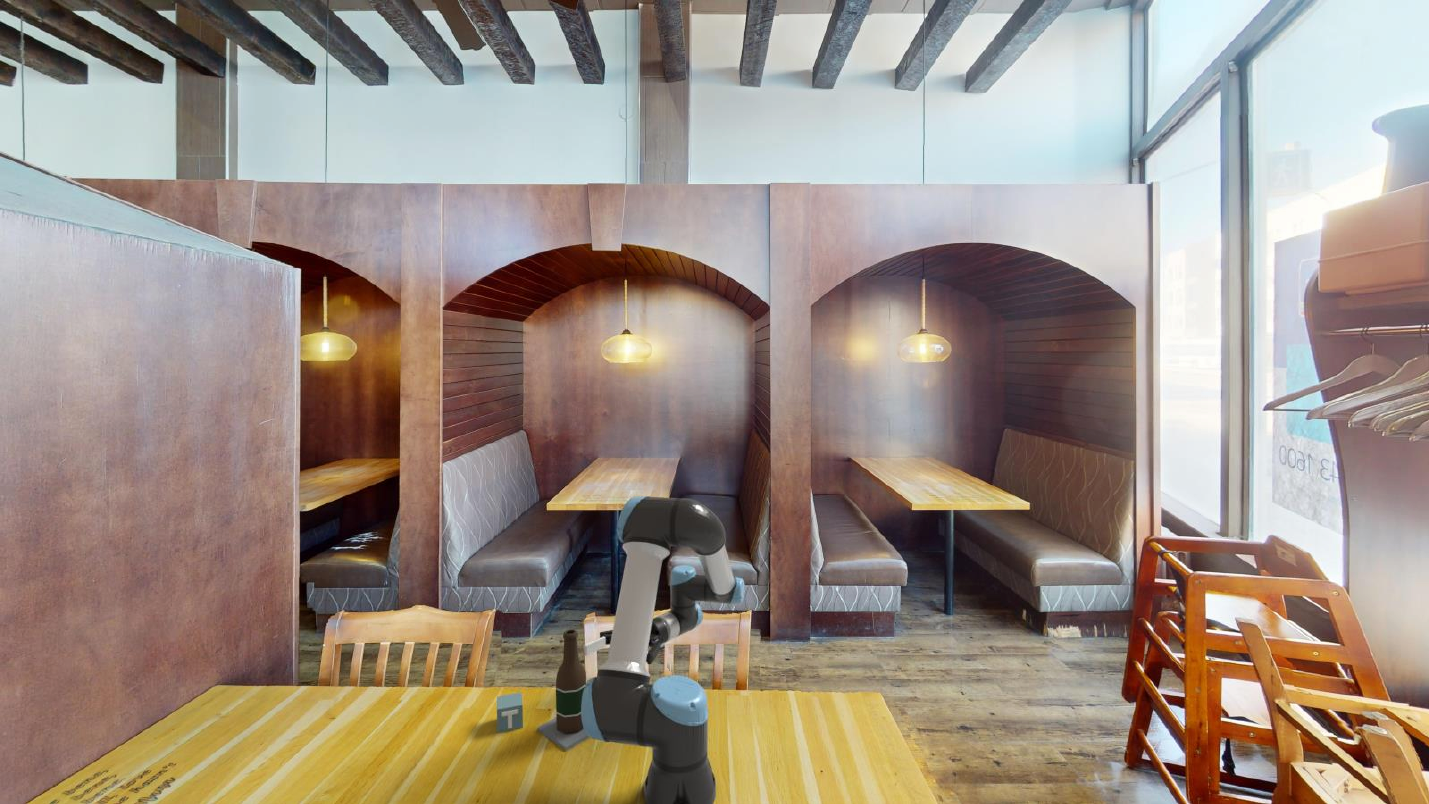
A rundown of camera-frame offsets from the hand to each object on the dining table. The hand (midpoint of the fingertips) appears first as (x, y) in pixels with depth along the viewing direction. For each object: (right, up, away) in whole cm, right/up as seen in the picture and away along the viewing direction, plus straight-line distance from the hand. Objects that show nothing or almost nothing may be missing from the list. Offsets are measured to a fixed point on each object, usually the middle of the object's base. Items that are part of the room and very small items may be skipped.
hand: (601, 658), depth 153 cm
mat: (-6, -15, -6) cm, 17 cm away
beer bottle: (-6, -14, -6) cm, 17 cm away
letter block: (-22, -15, -4) cm, 27 cm away
